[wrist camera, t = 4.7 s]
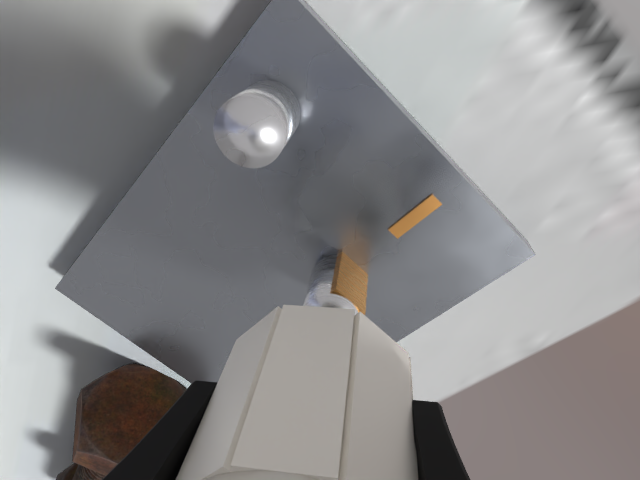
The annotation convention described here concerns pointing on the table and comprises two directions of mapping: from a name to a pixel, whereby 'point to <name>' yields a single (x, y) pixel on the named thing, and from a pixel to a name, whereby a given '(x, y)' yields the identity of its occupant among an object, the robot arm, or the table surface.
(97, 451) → the bolt
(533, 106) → the table surface
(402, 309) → the plate
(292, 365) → the knob
